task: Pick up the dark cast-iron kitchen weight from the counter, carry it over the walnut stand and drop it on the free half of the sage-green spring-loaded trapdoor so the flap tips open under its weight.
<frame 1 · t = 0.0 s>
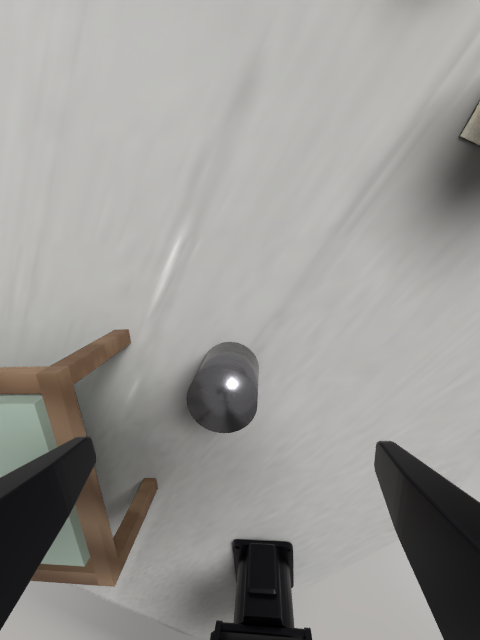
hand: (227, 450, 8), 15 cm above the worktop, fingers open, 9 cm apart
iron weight: (231, 367, 24), on the worktop
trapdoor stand: (60, 416, 27), on the worktop
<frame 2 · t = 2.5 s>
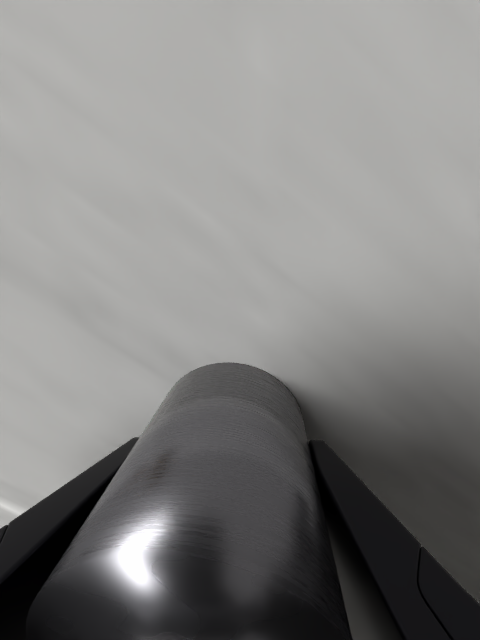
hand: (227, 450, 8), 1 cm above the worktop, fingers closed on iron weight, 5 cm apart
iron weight: (231, 428, 9), on the worktop, touching gripper
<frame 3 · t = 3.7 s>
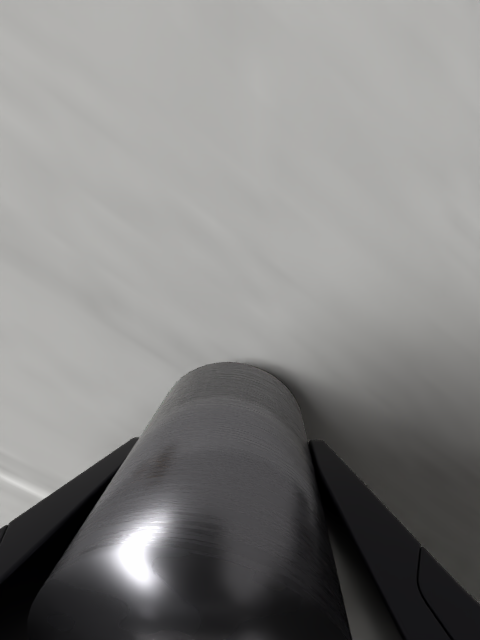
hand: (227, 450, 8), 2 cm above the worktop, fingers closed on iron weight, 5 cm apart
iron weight: (231, 427, 9), point 1 cm above the worktop, touching gripper
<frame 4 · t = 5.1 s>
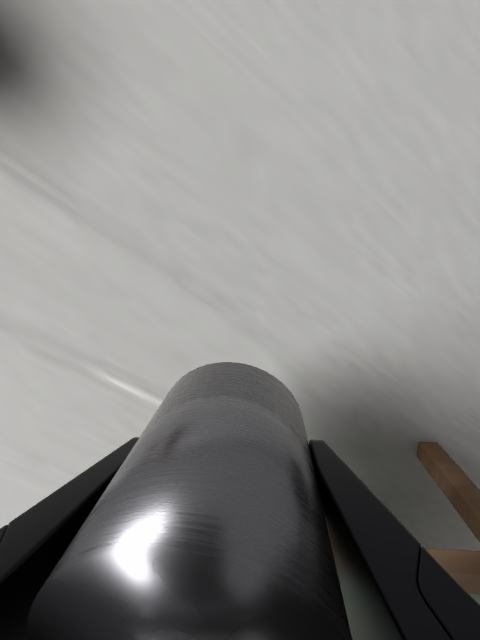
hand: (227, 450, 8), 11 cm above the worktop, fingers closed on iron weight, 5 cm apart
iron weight: (231, 427, 9), point 10 cm above the worktop, touching gripper
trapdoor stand: (313, 526, 23), on the worktop
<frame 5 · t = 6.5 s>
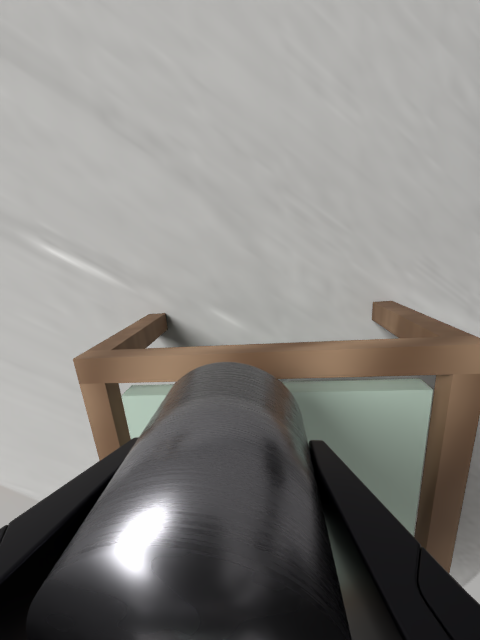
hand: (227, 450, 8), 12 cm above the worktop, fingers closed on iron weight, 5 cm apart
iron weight: (230, 427, 9), point 11 cm above the worktop, touching gripper
trapdoor: (273, 502, 14), point 8 cm above the worktop, hinge at 0.0°
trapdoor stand: (270, 412, 22), on the worktop
when the fingers open (12 cm above the worktop, at t = 7.6 s): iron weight drops 7 cm, resting on trapdoor, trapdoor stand.
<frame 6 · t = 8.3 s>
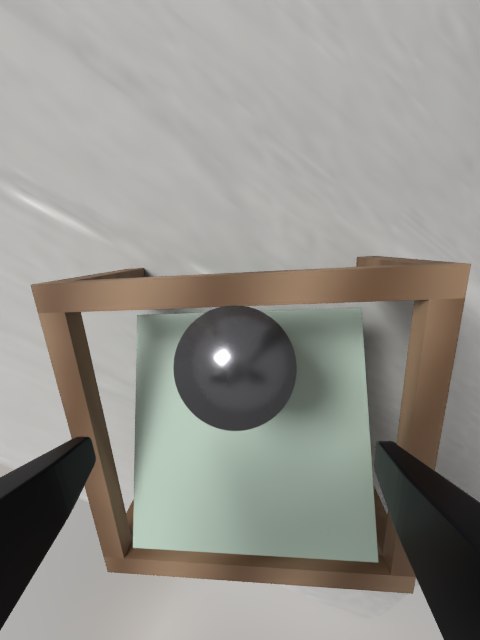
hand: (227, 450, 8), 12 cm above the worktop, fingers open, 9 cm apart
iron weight: (244, 357, 16), point 4 cm above the worktop, tilted 20°, touching trapdoor, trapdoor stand
trapdoor: (247, 425, 16), point 5 cm above the worktop, hinge at -21.3°, touching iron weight
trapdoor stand: (251, 375, 21), on the worktop
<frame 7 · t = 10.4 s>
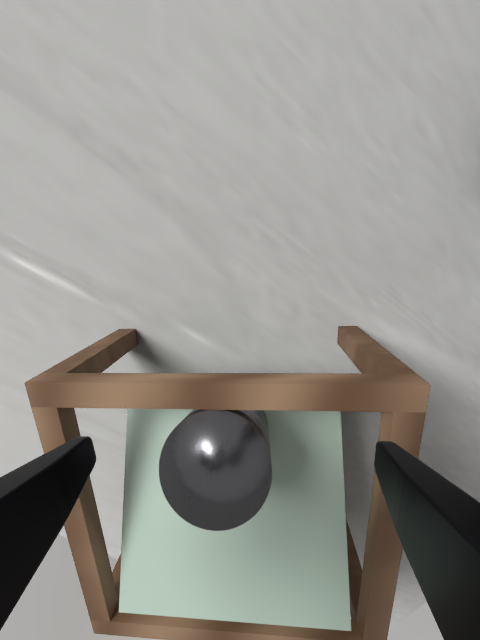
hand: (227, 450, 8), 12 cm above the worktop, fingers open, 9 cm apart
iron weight: (229, 428, 17), point 4 cm above the worktop, tilted 20°, touching trapdoor, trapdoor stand
trapdoor: (231, 492, 17), point 5 cm above the worktop, hinge at -21.7°, touching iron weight
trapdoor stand: (238, 429, 22), on the worktop
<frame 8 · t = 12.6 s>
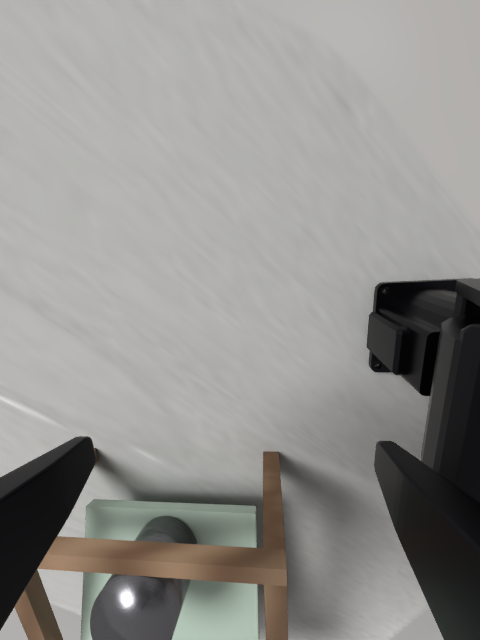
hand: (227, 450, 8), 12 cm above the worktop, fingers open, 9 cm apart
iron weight: (166, 549, 20), point 4 cm above the worktop, tilted 20°, touching trapdoor, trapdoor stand
trapdoor: (169, 600, 21), point 5 cm above the worktop, hinge at -21.7°, touching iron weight
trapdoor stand: (187, 525, 26), on the worktop
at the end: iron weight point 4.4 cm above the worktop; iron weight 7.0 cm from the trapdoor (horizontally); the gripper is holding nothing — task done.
